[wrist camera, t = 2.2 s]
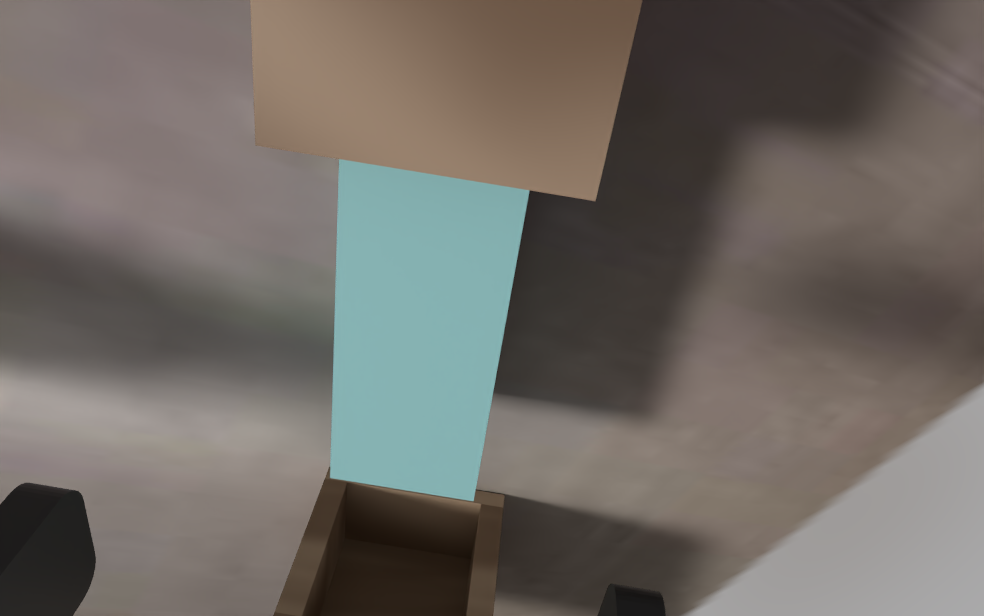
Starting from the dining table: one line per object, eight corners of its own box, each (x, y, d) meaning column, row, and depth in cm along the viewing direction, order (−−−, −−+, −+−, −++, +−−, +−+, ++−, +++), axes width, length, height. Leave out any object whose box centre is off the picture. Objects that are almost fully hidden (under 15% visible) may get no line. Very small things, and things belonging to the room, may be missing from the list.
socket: (329, 466, 27) (268, 630, 21) (504, 494, 27) (488, 666, 21) (326, 564, 30) (271, 731, 24) (484, 590, 30) (465, 762, 24)
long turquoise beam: (405, -346, 14) (355, -402, 11) (613, -311, 14) (628, -357, 11) (363, 387, 24) (329, 478, 20) (486, 407, 24) (473, 501, 20)
